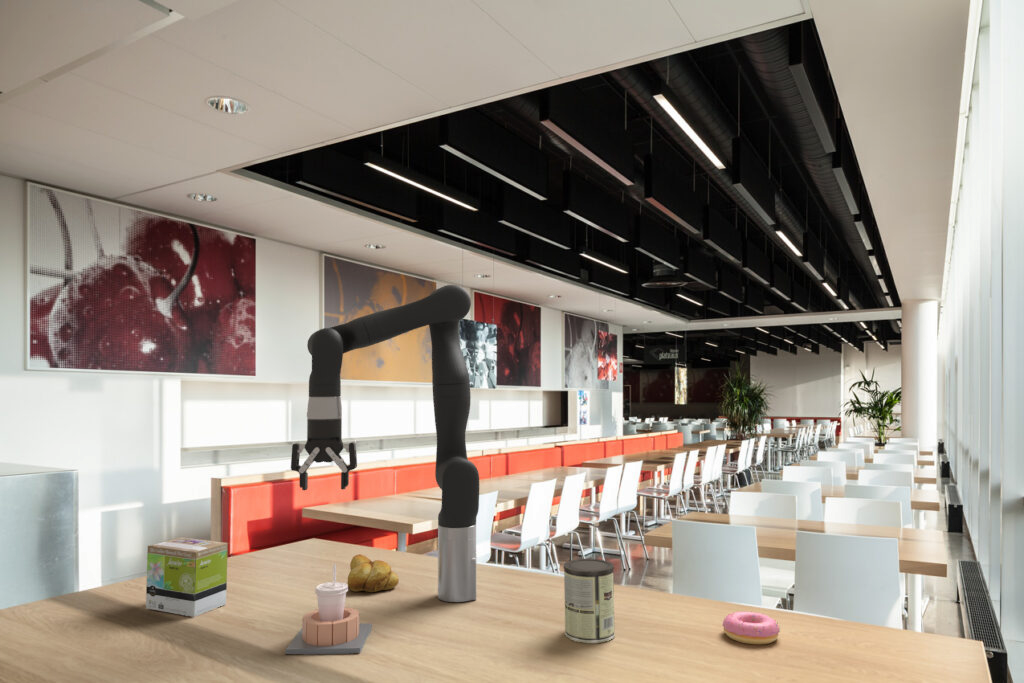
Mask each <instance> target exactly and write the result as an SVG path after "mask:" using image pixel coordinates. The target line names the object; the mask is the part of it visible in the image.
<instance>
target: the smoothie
mask: <svg viewBox="0 0 1024 683" xmlns="http://www.w3.org/2000/svg"><path fill="white" fill-rule="evenodd" d="M348 591H349V587H348V584H347V583H346V582H341V581H337V564H336V563H333V564H332V581H331V582H329V581H328V582H324V583H320V584H319V585H317V586H315V591H314V594H316V595H317V596H316V599H317V605H318V606H317V607H318V608H317V609H319V617H320V621H321V622H327V621H337V620H342V619H343V614H344V607H346V606H345V605H346V597H347V592H348Z"/></svg>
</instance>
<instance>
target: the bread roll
mask: <svg viewBox="0 0 1024 683" xmlns="http://www.w3.org/2000/svg"><path fill="white" fill-rule="evenodd" d="M349 566H350V571H349V572H348V575H347V583H346V584H347V585H348V589H349V590H351V591H352V592H368V593H372V592H374V593H375V592H379V591H386V590H387V591H388V590H391V589H394V588H395V587H397V586H398V584H399V580H400V579H399V576H398V575H397V573H395V571H392V566H391V564H388V562H386V561H384V560H380V559H377V560H373V561H372V560H371V559H370V558H369V557H368V556H366V555H363V554H361V553H360V554H355V555H354V556H352V558H351V561H350V565H349Z"/></svg>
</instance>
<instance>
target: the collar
mask: <svg viewBox="0 0 1024 683" xmlns="http://www.w3.org/2000/svg"><path fill="white" fill-rule="evenodd" d="M301 620H302V622H301V623H302V627H301V628H300V630H299V631H298V632H297V634H296V635H295V636H294V638H292V640H291V641H290V643H289V644H288V646H287V647H286V648H285V654H304V655H305V656H306V655H348V654H349V655H352V654H353V653H360V654H361V652H362V651H363V648H364V646H365V644H366V642H365V641H367V640H368V638H367V637H369V635H370V633H371V631H372V629H373V622H372V623H371V622H370V623H360V612H359V611H358V610H357V609H356V608H354V607H353V608H352V607H349V606H348V607H346V606H344V614H343V619H342V620H337V621H327V622H321V621H320V617H319V608H317V609H314V610H310V611H309V612H306V613H305V614H304V616H303V617H302V618H301ZM371 628H372V629H371ZM366 639H367V640H366ZM364 643H365V644H364ZM363 645H364V646H363ZM350 653H351V654H350ZM304 655H303V656H304ZM353 655H354V654H353Z"/></svg>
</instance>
